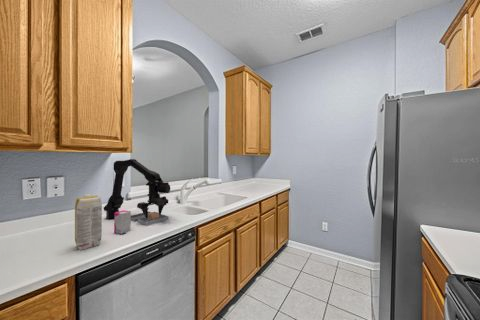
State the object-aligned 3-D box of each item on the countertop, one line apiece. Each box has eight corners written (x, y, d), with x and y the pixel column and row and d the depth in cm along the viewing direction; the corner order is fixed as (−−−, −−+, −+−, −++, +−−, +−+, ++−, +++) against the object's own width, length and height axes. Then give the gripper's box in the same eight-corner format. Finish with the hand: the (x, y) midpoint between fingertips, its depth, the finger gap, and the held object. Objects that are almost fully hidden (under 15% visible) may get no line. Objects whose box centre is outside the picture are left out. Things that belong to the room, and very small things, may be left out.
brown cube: (152, 222, 121) (152, 214, 120) (147, 221, 123) (147, 213, 123) (159, 220, 125) (159, 212, 125) (154, 219, 127) (154, 211, 127)
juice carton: (98, 240, 96) (98, 192, 96) (102, 244, 91) (103, 194, 90) (73, 246, 89) (73, 195, 88) (77, 251, 84) (77, 197, 83)
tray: (146, 226, 115) (146, 222, 115) (137, 223, 120) (137, 219, 120) (168, 219, 128) (168, 216, 128) (159, 217, 133) (159, 213, 133)
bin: (135, 222, 122) (135, 219, 122) (126, 219, 127) (126, 216, 127) (156, 216, 135) (156, 213, 135) (148, 214, 140) (148, 211, 140)
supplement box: (131, 230, 108) (131, 210, 108) (121, 234, 102) (121, 213, 102) (123, 229, 110) (123, 209, 110) (113, 233, 104) (113, 212, 104)
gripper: (147, 196, 112) (146, 222, 112) (173, 191, 127) (173, 215, 127) (136, 194, 118) (136, 219, 118) (163, 190, 133) (163, 212, 134)
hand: (153, 216), depth 124 cm, fingers open, 9 cm apart
